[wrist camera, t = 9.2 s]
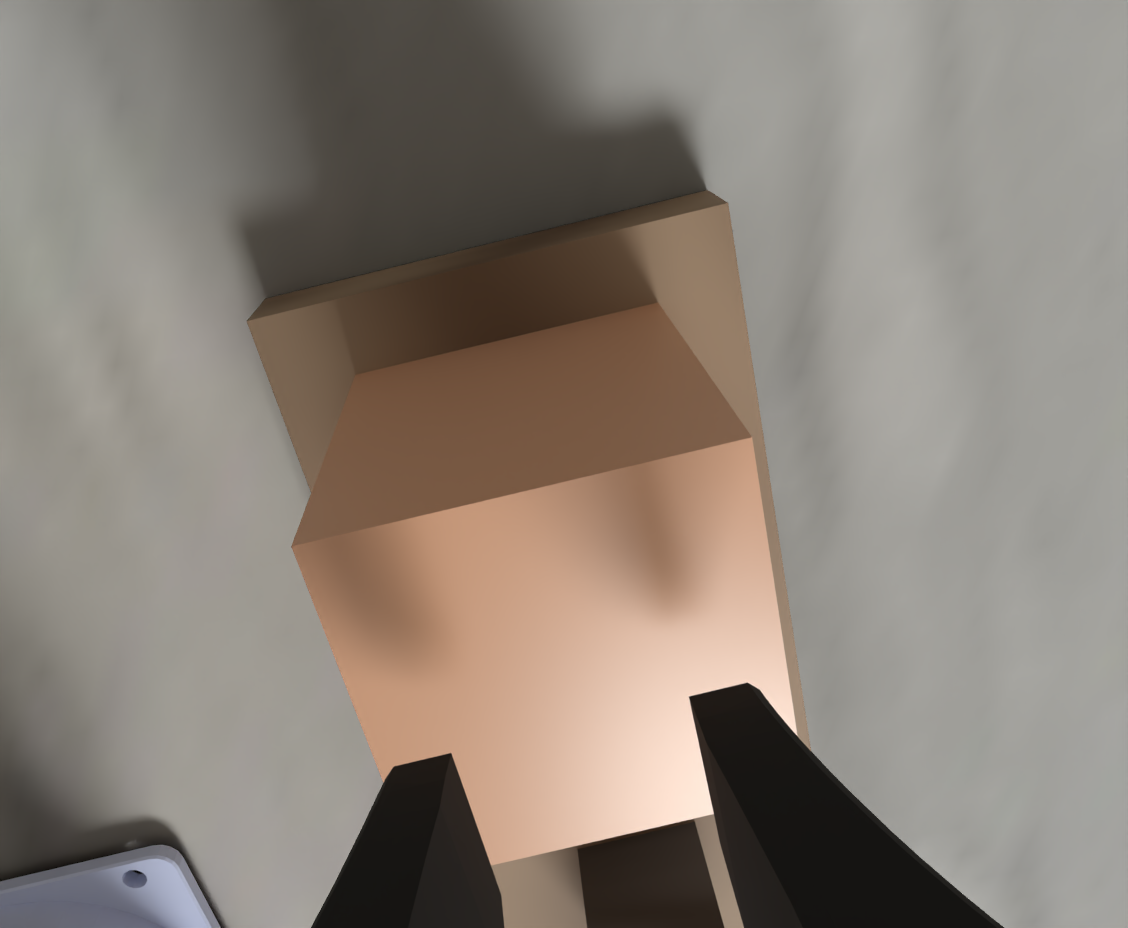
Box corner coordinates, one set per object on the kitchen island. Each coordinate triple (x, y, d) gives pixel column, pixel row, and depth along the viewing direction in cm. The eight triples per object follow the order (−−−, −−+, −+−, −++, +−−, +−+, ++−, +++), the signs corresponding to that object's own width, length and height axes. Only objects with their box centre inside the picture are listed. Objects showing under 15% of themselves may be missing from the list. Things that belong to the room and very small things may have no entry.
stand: (512, 979, 24) (523, 1252, 19) (265, 298, 17) (163, 420, 11) (822, 907, 24) (923, 1161, 19) (707, 189, 17) (818, 261, 11)
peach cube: (438, 628, 18) (421, 881, 13) (355, 374, 16) (291, 546, 11) (706, 565, 18) (805, 792, 13) (658, 302, 16) (752, 437, 10)
